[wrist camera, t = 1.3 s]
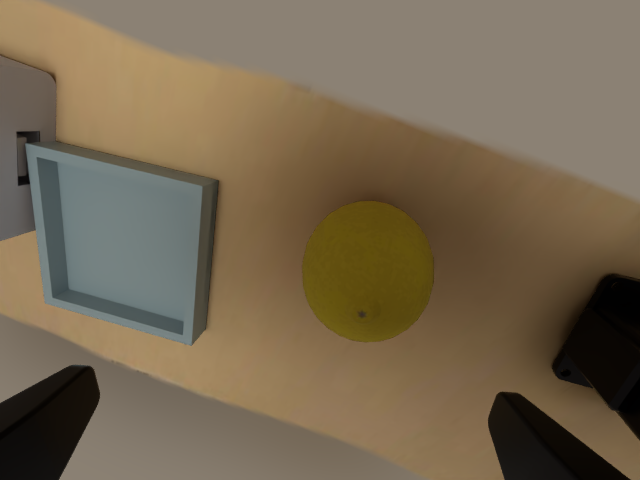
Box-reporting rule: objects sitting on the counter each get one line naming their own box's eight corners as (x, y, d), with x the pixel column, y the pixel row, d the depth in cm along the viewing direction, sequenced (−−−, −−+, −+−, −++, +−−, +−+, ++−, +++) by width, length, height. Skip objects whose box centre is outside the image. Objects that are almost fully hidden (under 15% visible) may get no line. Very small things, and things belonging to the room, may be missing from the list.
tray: (218, 180, 19) (202, 186, 17) (205, 328, 22) (191, 345, 21) (55, 141, 19) (25, 143, 18) (69, 290, 23) (44, 303, 21)
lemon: (440, 211, 17) (487, 279, 10) (393, 296, 19) (402, 407, 12) (342, 169, 17) (312, 205, 10) (305, 259, 19) (259, 345, 12)
